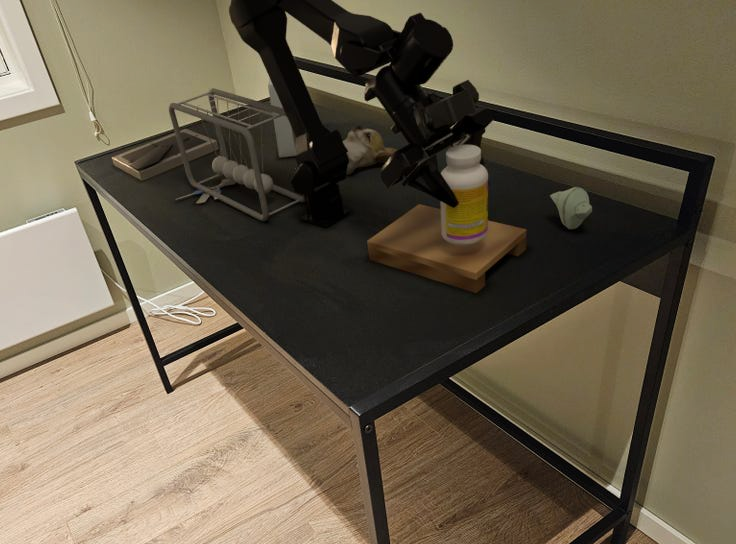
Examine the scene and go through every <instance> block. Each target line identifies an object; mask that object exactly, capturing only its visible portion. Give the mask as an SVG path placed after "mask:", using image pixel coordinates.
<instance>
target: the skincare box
mask: <svg viewBox="0 0 736 544" xmlns="http://www.w3.org/2000/svg"><path fill="white" fill-rule="evenodd" d="M293 57H294V59H295V60H296V58H295V56H293ZM267 89H268V93H269V94H268V95H269V100H270V101H269V102H270V105H273V106H276V107H280V108H283V107H282V104H281V102H280V100H279V98H278V95H277V93H276V91H275V89H274V87H273V84H272V82H271V80H270V79H269V80H268V84H267ZM271 113H273V114H276V115H279V114H277V113H274V112H271ZM272 117H274V116H272ZM272 121H273V125H274V132H275V138H276V147H277V152H278V157H279V159H281V158H289V157H295V146H294V140H293V135H292V129H291V125H290V122H289V120H288V118H287V117H286V116H281V117H278V118H276V119H273V120H272Z"/></svg>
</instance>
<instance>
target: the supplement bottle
mask: <svg viewBox="0 0 736 544" xmlns="http://www.w3.org/2000/svg"><path fill="white" fill-rule="evenodd" d="M481 152H482V148H481V149H480V148H479V147H477V146H474V145H458V146H454V147H449V148H448V149H447V150H446V152H445V162H446V166H445V167H444V168H443V169H442V170H441V171H440V173H441V175H442V176H443V178H444V179H445V181H446V182H447V184H448V185H449V187H450V188H451V190H452V191H453V193H454V195H455V196H456V198H457V200H458V202H459V204H458V205H457V206H456V207H455V208H452V207H451V206H449V205H447V204H445V203H443V202H441V201H440V200H439V203H440V204H439V205H440V209H441V232H442V236H443V238H444V239H445V240H446V241H447V242H449V243H452V244H456V245H469V244H474V243H477V242H479V241H481V240H482V239H483V238H485V236H486V235H487V231H488V221H489V218H488V217H489V186H488V179H489V172H488V169H487V168H486V166H485V167H484V166H483V165H481V164H479V162H480V160H481Z"/></svg>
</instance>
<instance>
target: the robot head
mask: <svg viewBox="0 0 736 544" xmlns="http://www.w3.org/2000/svg"><path fill="white" fill-rule="evenodd" d="M549 197H550V198H551V200H552V201H553V203H554V204H555V206H556V208H557V211H558V214H559V217H560V221H561V223H562V225H563V226H564V227H565V228H567V229H568V230H575V229H577V228H579V227H580V226H581V225H582V224H583V222H584V220H585V219H586V218H587V217H588V216H589V215H590V214H591V213H593V206H592V204H590V198H589V194H588V192H587V191H586V190H585V189H584V188H582V187H579V186H578V187H577V186H574V187H570V188H569V189H567V190H564V191H557V192H553V193H552V194H550V195H549Z"/></svg>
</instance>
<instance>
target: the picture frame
mask: <svg viewBox="0 0 736 544" xmlns="http://www.w3.org/2000/svg"><path fill="white" fill-rule="evenodd" d="M180 133H181V136H182V140H183V143H184V147H185V151H186V154H187V158H188V162H189V163H190V162H192V161H194V160H196V159H199V158H201V157H203V156H206V155H208V154H211V153H213V152H215V151H216V152H217V151H218V150H220V146H219V144H218V143H219V142H218V141H217V140H216V139H214V138H211V137H210V136H209V137H210V139H211V141H210V139H209V137H208V136H207V135H203V134H201V133H198V132H195V131H193V130H190V129H187V128H184V129H180ZM211 142H212V144H213V146H214V148H213V146H212V144H211ZM214 149H215V151H214ZM111 160H112V162H113V165H114V167H116V168H117V169H120V170H122V171H123V172H125V173H126V174H129V175H130V176H132V177H134V178H135V179H137V180H139V181H142V182H143V181H145V180H148V179H151V178H153V177H156V176H158V175H160V174H163V173H165V172H168V171H169V170H172V169H175V168H177V167H180V166H182V165H184V164H183V160H182V157H181V153H180V149H179V146H178V142H177V139H176V135H175V132H174V133H171V134H168V135H166V136H163V137H161V138H159V139H156V140H153V141H151V142H147V143H146V144H143V145H140V146H138V147H134V148H132V149H130V150H127V151H125V152H123V153H120V154H117V155H115V156H112V157H111Z"/></svg>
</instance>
